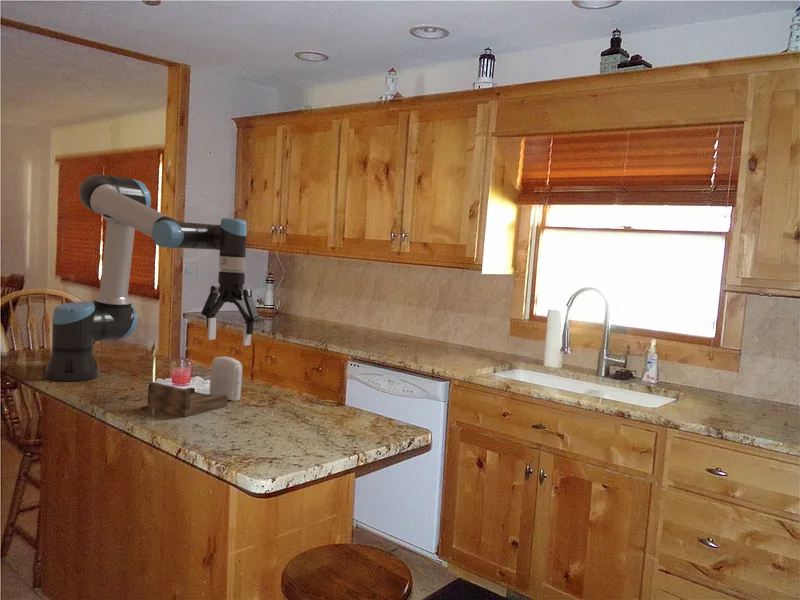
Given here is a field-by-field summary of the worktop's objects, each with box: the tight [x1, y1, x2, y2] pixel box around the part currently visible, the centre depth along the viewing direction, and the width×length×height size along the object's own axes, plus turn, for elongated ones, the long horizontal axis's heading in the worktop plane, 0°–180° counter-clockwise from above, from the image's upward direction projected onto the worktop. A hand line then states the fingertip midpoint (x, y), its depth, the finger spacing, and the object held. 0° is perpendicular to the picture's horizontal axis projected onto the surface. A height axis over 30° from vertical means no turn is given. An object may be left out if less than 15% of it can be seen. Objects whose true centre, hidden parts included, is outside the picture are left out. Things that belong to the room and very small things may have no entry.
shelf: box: [146, 381, 228, 418], centre depth 181 cm, size 14×16×7 cm
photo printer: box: [209, 356, 243, 402], centre depth 194 cm, size 10×4×12 cm, turn 60°
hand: (228, 342), depth 193 cm, fingers open, 13 cm apart
